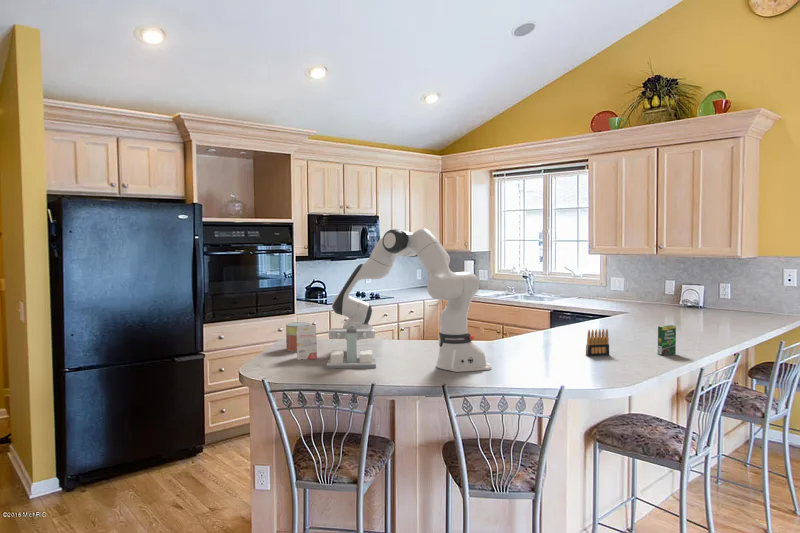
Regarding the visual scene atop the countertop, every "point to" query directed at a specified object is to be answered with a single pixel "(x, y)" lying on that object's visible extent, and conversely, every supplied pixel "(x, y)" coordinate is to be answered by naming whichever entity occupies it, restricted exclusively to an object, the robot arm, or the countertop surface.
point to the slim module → (351, 345)
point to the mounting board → (340, 362)
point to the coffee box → (666, 340)
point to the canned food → (293, 335)
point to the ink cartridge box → (306, 342)
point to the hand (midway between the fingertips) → (351, 336)
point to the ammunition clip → (597, 343)
